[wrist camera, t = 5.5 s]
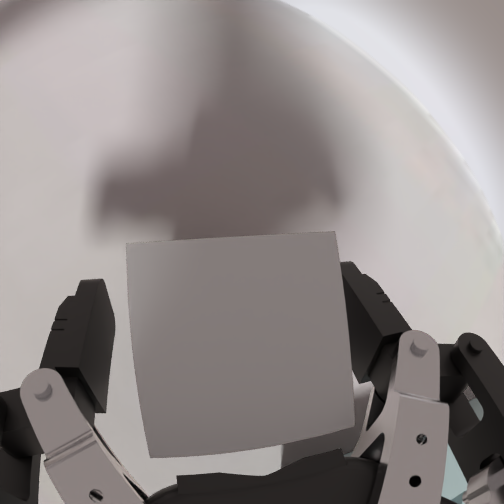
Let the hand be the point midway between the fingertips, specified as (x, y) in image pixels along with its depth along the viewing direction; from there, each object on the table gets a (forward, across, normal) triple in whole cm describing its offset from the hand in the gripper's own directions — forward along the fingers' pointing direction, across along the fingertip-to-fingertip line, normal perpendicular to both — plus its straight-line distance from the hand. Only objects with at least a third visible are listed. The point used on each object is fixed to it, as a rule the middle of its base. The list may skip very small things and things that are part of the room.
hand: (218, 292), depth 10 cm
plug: (+3, 0, +5) cm, 5 cm away
